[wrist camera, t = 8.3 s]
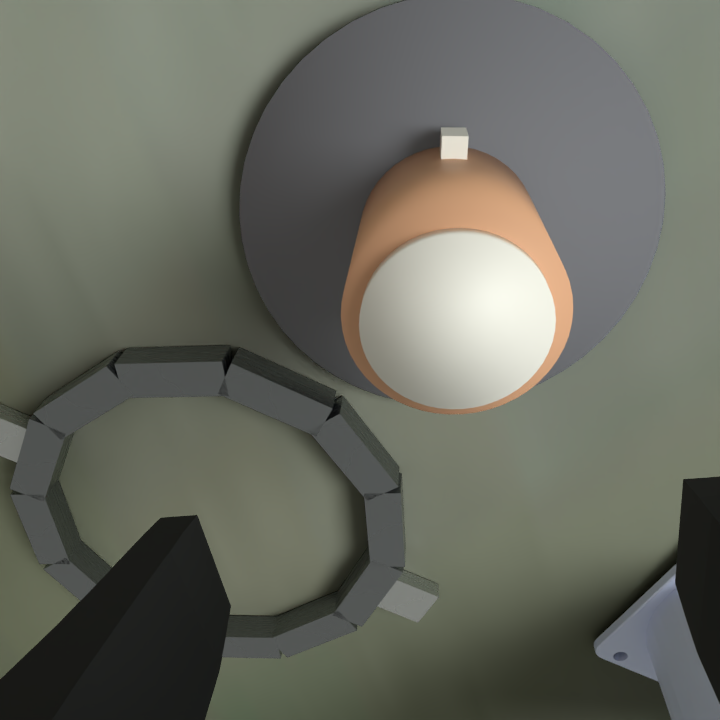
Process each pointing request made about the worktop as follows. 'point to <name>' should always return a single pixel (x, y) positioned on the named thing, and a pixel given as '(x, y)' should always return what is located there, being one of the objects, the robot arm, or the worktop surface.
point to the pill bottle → (454, 283)
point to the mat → (423, 130)
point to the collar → (257, 391)
